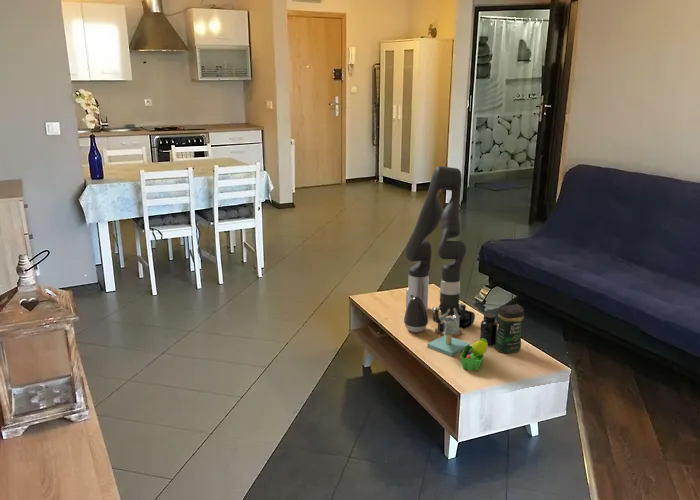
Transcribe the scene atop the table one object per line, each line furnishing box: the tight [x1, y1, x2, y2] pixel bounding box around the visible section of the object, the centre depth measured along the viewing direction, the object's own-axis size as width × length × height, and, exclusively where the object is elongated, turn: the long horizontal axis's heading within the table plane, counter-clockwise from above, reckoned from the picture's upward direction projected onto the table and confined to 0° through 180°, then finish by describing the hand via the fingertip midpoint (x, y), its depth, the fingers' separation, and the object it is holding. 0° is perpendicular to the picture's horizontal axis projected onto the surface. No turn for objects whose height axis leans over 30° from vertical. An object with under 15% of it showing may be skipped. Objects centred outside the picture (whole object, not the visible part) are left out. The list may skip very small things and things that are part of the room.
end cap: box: [450, 308, 476, 330], centre depth 254 cm, size 10×7×7 cm
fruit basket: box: [460, 338, 488, 372], centre depth 216 cm, size 11×9×11 cm
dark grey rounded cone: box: [403, 295, 429, 333], centre depth 247 cm, size 10×10×15 cm
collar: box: [442, 315, 460, 335], centre depth 230 cm, size 6×6×5 cm
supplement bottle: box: [479, 312, 499, 347], centre depth 235 cm, size 7×7×12 cm
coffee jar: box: [494, 303, 525, 354], centre depth 228 cm, size 10×8×19 cm
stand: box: [434, 327, 463, 338], centre depth 245 cm, size 8×8×7 cm
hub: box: [426, 334, 471, 357], centre depth 232 cm, size 12×12×7 cm
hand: (448, 330), depth 231 cm, fingers closed on collar, 6 cm apart
